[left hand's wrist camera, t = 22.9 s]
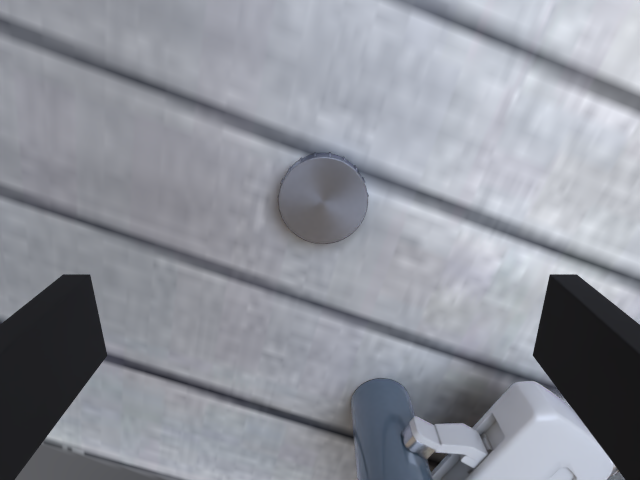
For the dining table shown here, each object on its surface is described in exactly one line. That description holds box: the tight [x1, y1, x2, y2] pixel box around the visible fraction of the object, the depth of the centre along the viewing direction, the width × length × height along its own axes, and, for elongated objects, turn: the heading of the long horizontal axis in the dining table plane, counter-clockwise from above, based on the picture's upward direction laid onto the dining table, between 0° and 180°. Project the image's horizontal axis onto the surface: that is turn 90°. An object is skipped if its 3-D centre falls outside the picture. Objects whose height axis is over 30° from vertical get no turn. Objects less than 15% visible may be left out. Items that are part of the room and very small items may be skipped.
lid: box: [278, 152, 368, 244], centre depth 29 cm, size 6×6×2 cm
